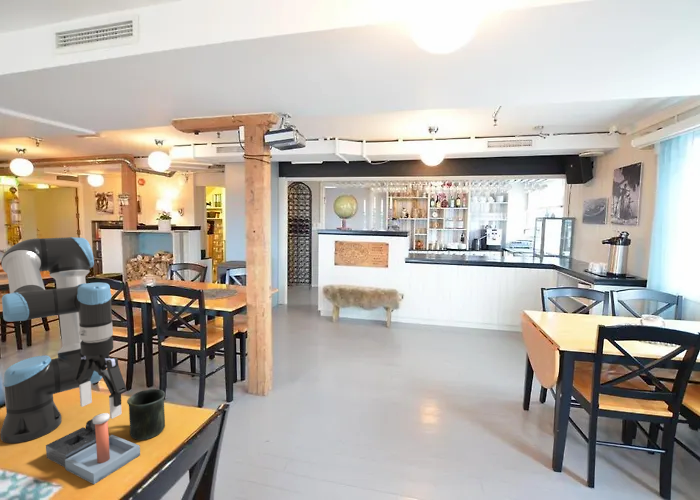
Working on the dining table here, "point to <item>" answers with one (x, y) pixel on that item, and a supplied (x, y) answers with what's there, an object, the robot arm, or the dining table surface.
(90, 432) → the block
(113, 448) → the tray
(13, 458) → the dining table surface
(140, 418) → the mug
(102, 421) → the pin
